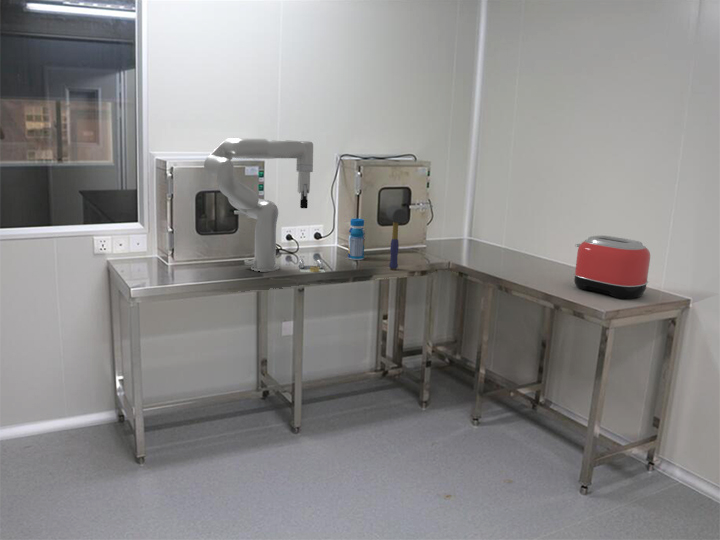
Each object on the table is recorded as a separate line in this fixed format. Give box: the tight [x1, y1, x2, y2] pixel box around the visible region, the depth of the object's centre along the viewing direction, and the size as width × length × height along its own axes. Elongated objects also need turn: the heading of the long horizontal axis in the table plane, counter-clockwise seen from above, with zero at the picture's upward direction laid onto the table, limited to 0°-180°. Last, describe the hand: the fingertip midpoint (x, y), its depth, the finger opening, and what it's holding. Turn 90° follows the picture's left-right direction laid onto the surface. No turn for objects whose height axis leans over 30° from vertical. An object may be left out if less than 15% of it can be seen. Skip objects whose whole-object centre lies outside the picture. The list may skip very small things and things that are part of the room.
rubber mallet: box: [385, 204, 408, 271], centre depth 307 cm, size 12×8×30 cm, turn 13°
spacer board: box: [298, 265, 326, 273], centre depth 302 cm, size 11×13×1 cm
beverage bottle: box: [347, 218, 366, 261], centre depth 328 cm, size 8×8×20 cm
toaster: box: [573, 235, 651, 300], centre depth 282 cm, size 32×23×23 cm
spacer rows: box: [298, 258, 324, 270], centre depth 304 cm, size 10×8×3 cm
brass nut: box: [310, 265, 320, 273], centre depth 297 cm, size 5×4×2 cm
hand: (303, 208), depth 306 cm, fingers closed
